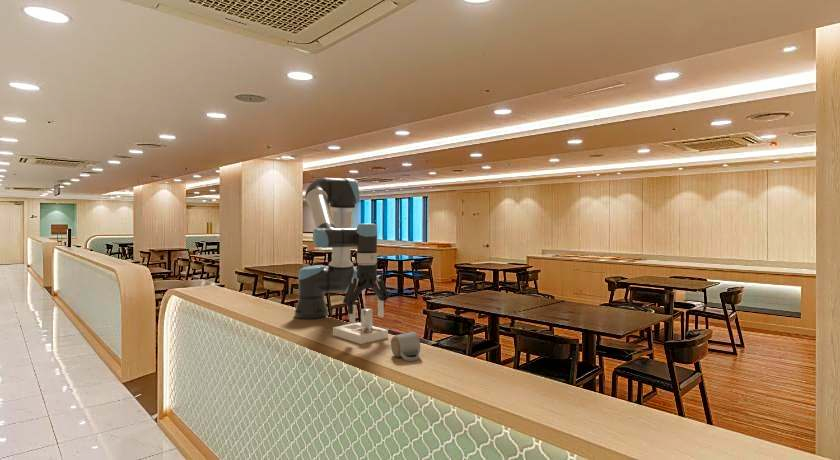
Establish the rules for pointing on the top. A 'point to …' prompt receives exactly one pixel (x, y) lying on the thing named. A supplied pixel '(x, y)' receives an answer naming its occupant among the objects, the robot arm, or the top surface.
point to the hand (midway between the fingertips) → (366, 319)
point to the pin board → (359, 333)
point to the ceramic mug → (406, 346)
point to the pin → (366, 320)
